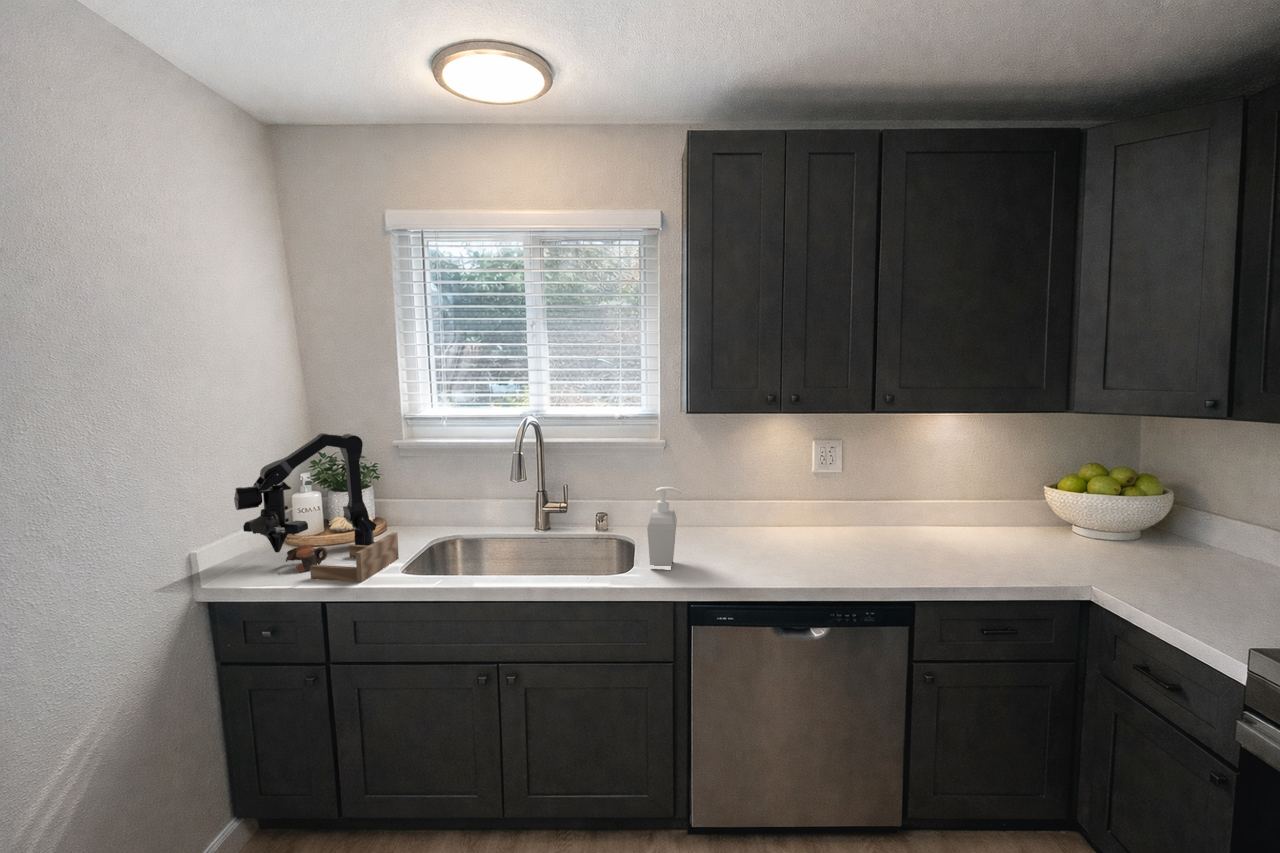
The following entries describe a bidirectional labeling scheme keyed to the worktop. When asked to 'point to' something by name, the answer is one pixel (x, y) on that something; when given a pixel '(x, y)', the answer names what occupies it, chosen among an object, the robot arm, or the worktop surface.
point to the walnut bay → (361, 561)
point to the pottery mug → (306, 556)
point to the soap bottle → (662, 531)
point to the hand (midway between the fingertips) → (277, 552)
